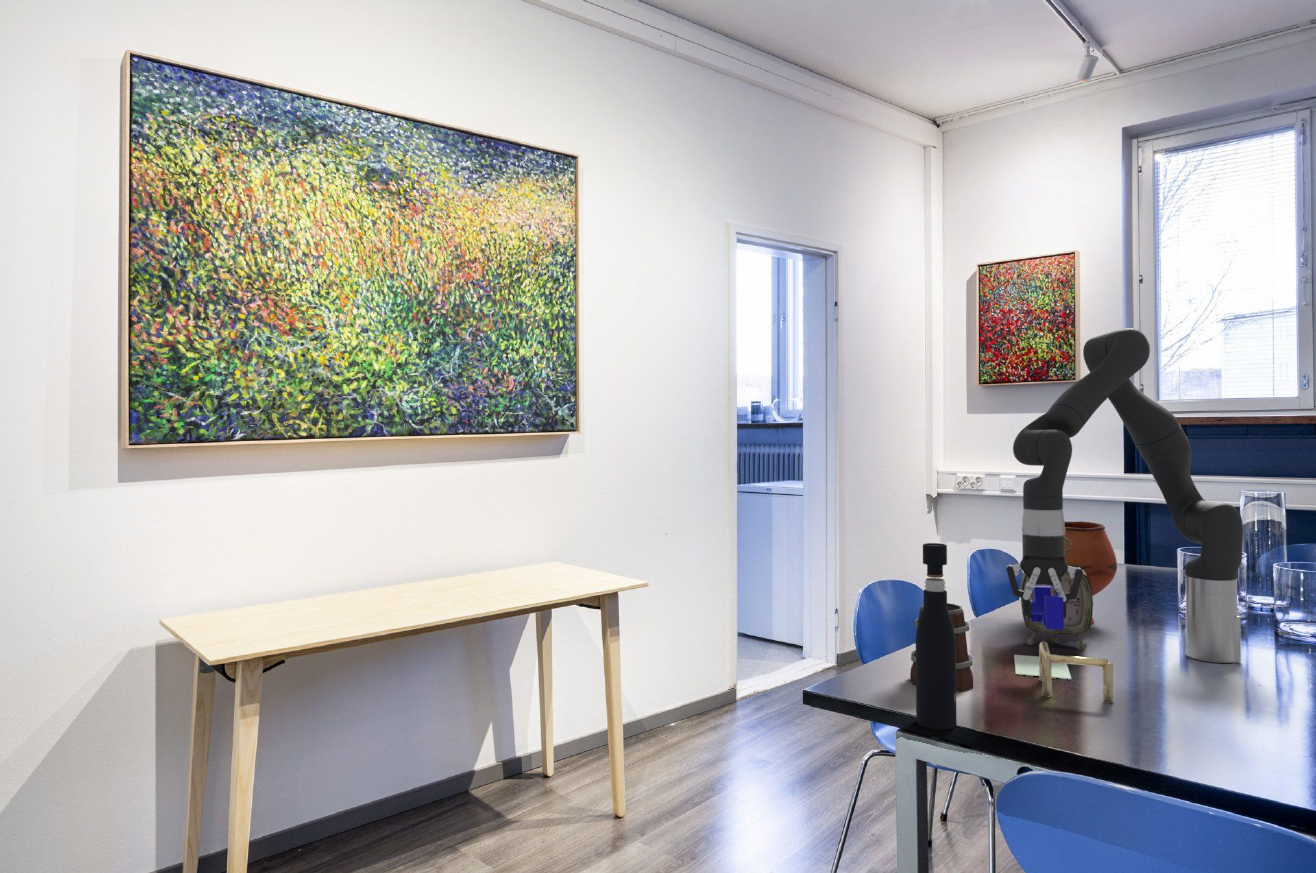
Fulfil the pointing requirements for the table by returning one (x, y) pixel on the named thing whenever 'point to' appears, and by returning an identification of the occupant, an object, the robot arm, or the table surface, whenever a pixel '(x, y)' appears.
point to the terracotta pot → (1091, 553)
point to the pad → (1031, 667)
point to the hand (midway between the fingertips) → (1044, 618)
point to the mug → (962, 658)
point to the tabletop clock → (1075, 608)
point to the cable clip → (1047, 608)
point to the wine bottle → (935, 648)
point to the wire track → (1047, 658)
